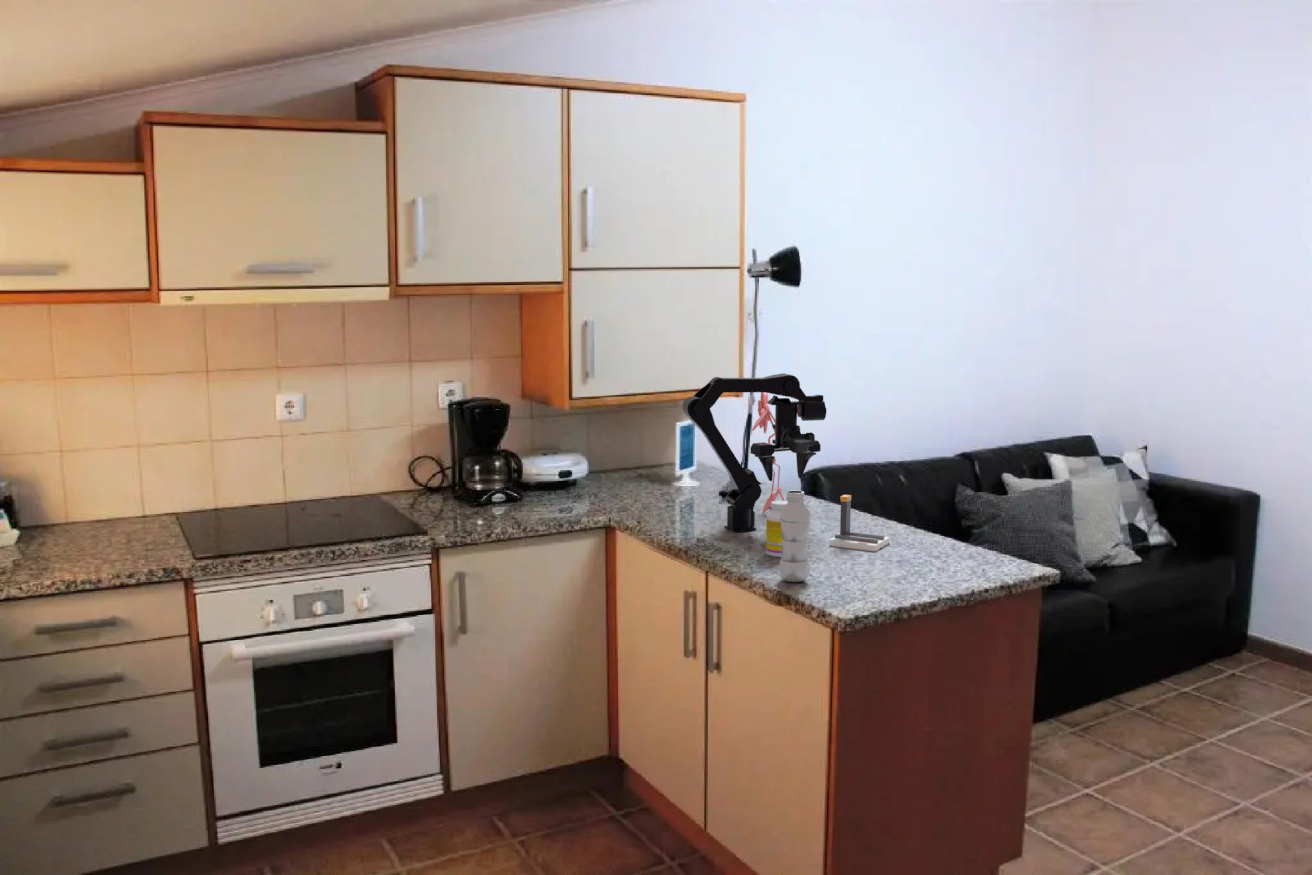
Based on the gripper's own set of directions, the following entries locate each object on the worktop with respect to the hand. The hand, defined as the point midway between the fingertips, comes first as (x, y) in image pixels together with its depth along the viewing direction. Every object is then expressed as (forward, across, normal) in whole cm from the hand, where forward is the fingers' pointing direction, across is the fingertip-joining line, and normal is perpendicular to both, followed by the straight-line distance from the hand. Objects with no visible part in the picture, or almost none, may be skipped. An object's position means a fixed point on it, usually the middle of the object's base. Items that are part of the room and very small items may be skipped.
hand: (785, 479), depth 295 cm
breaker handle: (+11, +4, -22) cm, 25 cm away
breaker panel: (+13, +6, -25) cm, 29 cm away
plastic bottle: (+13, -27, -47) cm, 56 cm away
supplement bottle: (+13, -17, -25) cm, 33 cm away
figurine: (+13, +6, +22) cm, 26 cm away
